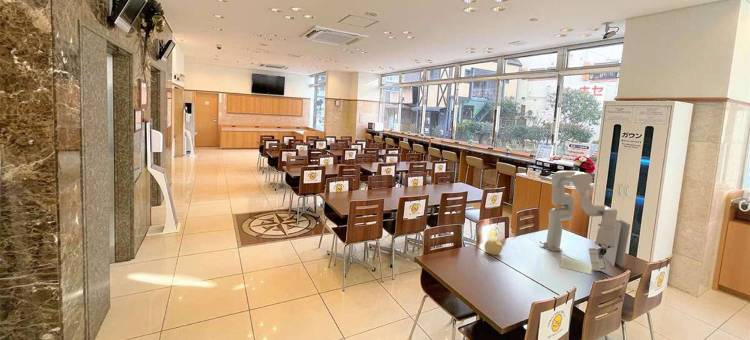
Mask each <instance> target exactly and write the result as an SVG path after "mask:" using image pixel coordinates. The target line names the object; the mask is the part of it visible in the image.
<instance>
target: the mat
mask: <svg viewBox="0 0 750 340" xmlns="http://www.w3.org/2000/svg"><path fill="white" fill-rule="evenodd" d="M559 268H561V269H562V268H563V269H566V270H570V271H574V272H578V273H583V274H585V275H592V271H593V270H592V266H591V263H589V262H586V261H585V262H584V261H580V260H576V259H571V258H568V257H562V260H561V262H560V264H559Z"/></svg>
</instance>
